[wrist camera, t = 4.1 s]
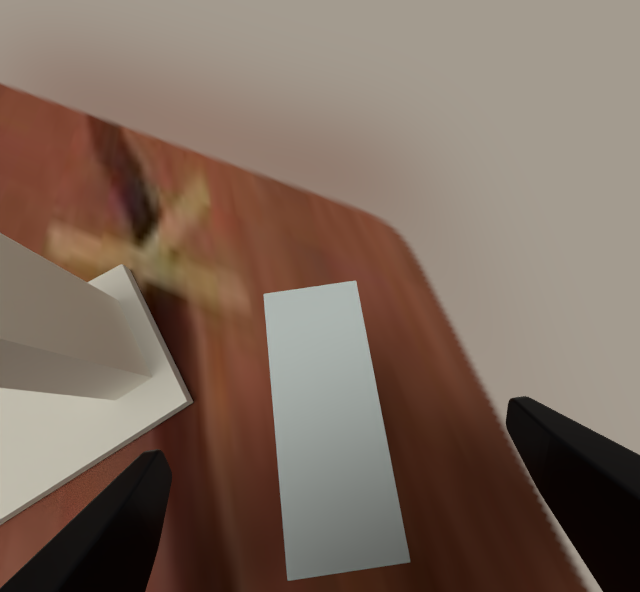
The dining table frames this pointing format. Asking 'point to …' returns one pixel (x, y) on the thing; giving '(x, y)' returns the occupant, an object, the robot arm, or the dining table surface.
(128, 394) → the row mat
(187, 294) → the dining table surface
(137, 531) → the robot arm
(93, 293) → the domino
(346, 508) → the domino
